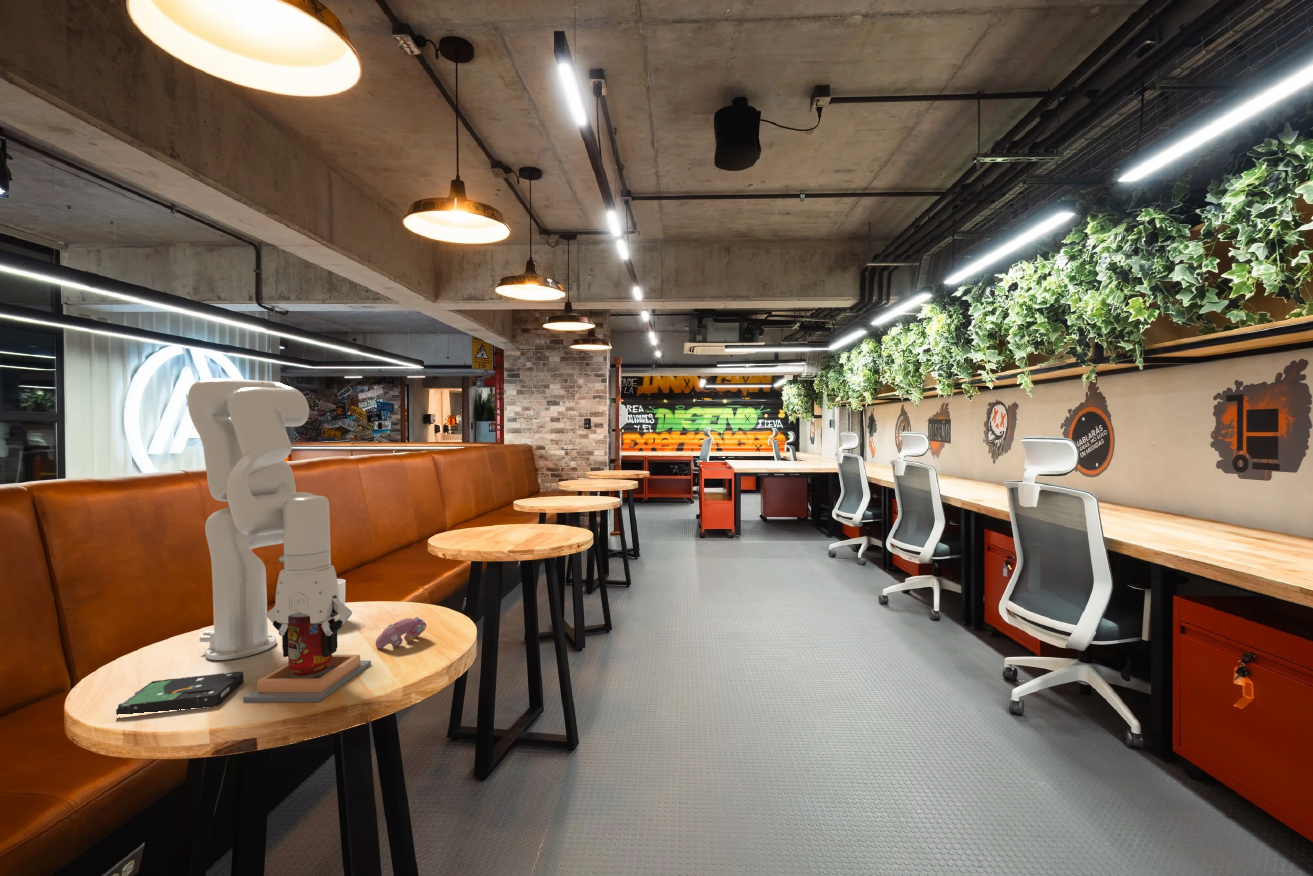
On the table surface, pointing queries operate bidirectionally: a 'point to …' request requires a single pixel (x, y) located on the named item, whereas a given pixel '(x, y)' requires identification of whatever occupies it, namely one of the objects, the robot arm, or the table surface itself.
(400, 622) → the video game controller
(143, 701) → the disk drive
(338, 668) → the cradle jig
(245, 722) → the table surface
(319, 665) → the soda can
